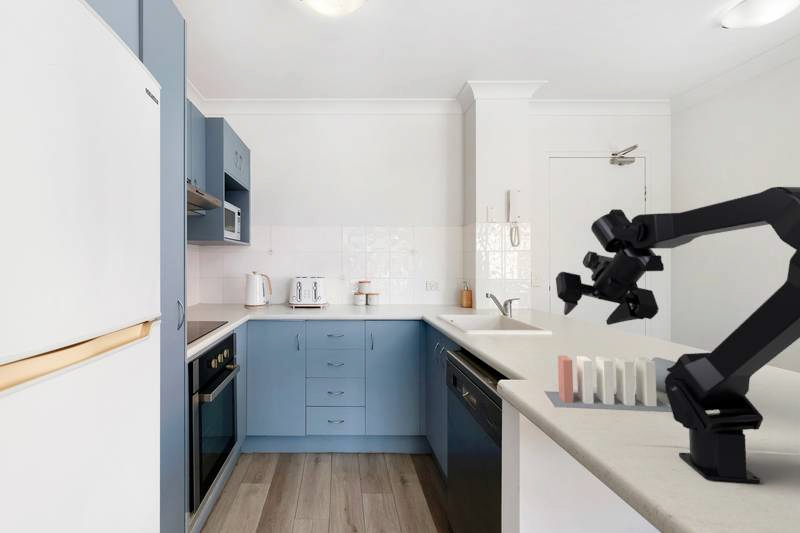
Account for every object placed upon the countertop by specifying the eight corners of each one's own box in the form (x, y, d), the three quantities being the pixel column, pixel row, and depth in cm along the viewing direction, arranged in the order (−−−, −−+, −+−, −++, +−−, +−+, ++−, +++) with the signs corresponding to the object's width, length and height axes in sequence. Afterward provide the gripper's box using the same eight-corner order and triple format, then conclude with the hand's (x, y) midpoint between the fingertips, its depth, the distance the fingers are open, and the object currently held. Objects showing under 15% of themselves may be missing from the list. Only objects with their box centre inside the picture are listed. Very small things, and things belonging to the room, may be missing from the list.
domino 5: (656, 406, 73) (655, 362, 73) (646, 406, 74) (645, 362, 74) (645, 399, 78) (644, 357, 78) (636, 398, 78) (635, 357, 78)
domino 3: (614, 404, 75) (612, 361, 75) (604, 404, 75) (603, 361, 75) (605, 397, 79) (604, 356, 79) (597, 397, 79) (595, 356, 79)
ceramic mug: (688, 402, 76) (687, 366, 77) (645, 391, 83) (645, 358, 84) (708, 394, 82) (707, 360, 82) (666, 384, 89) (666, 353, 89)
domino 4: (635, 405, 74) (633, 361, 74) (625, 405, 74) (624, 361, 74) (625, 398, 78) (624, 357, 78) (616, 397, 79) (615, 356, 79)
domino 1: (573, 402, 76) (572, 360, 76) (564, 402, 76) (563, 360, 76) (567, 395, 80) (566, 355, 80) (558, 395, 81) (557, 355, 81)
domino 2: (593, 403, 75) (592, 360, 75) (584, 403, 76) (583, 360, 76) (586, 396, 80) (585, 356, 80) (577, 396, 80) (576, 355, 80)
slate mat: (679, 414, 70) (678, 412, 70) (555, 408, 74) (555, 406, 74) (652, 397, 80) (652, 395, 80) (544, 392, 84) (544, 391, 84)
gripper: (663, 252, 72) (621, 299, 83) (569, 232, 74) (541, 282, 85) (681, 293, 64) (632, 339, 76) (575, 271, 66) (544, 319, 77)
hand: (586, 318), depth 79 cm, fingers open, 9 cm apart
